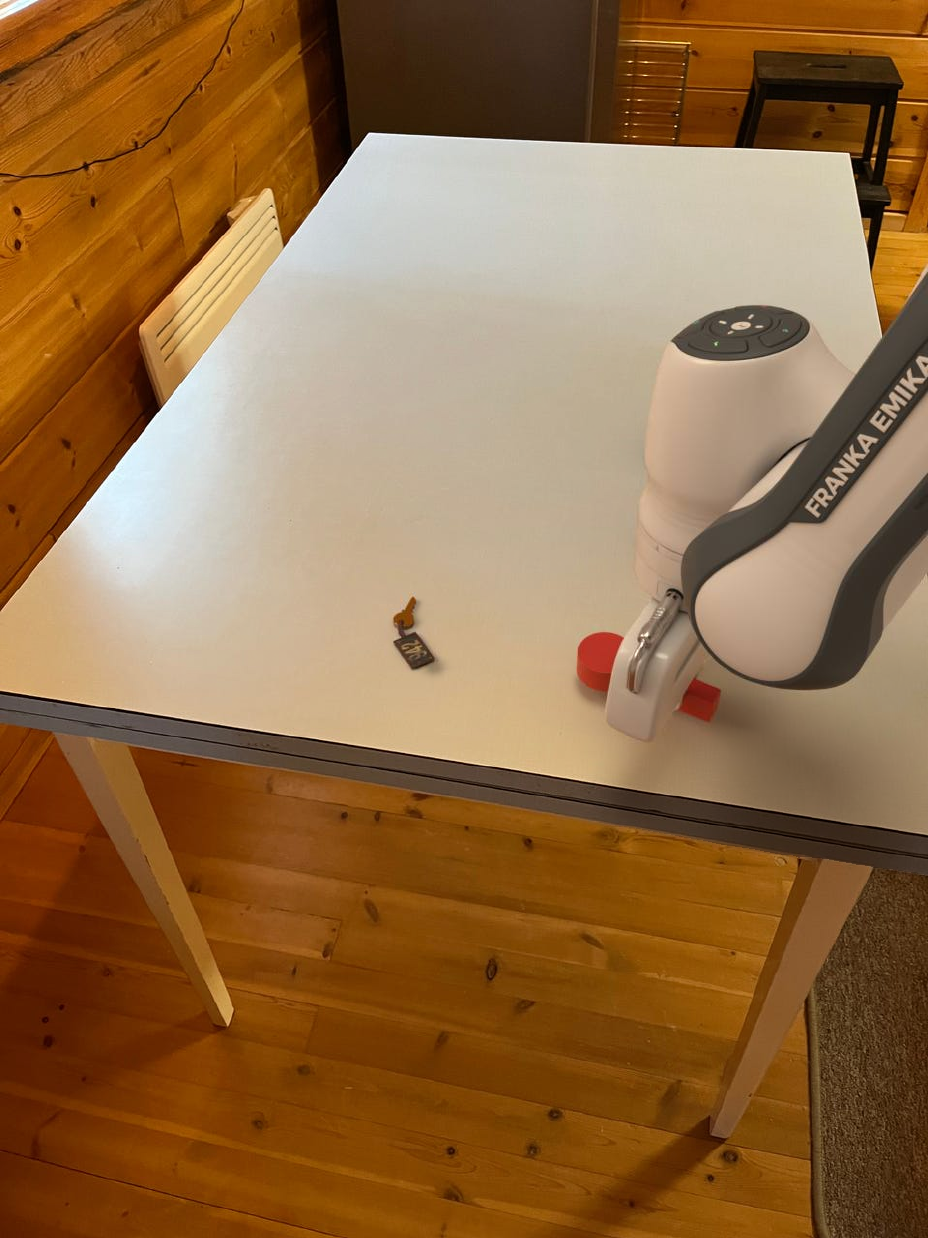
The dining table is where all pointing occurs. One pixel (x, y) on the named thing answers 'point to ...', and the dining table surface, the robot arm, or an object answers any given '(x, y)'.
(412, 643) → the key tag
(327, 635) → the dining table surface
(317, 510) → the dining table surface
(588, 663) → the red spoon
